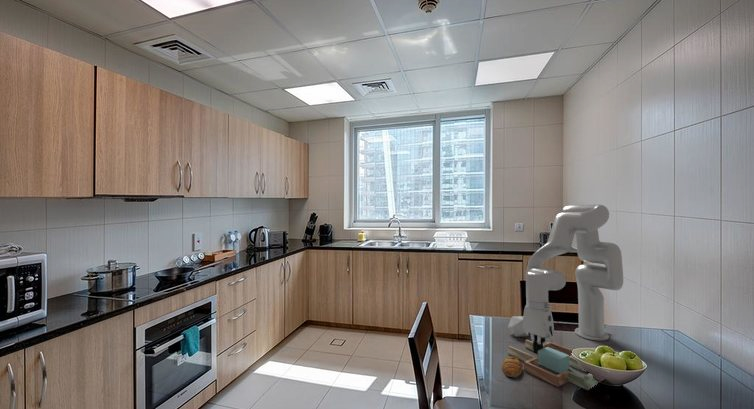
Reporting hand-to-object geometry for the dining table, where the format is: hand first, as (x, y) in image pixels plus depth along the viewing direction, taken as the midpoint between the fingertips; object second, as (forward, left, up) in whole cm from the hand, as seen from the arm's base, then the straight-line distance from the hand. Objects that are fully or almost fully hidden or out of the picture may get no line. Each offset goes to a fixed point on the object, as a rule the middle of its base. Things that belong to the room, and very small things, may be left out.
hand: (537, 352), depth 119 cm
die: (-14, -18, -3) cm, 23 cm away
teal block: (0, +6, -3) cm, 7 cm away
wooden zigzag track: (0, +5, -3) cm, 6 cm away
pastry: (+16, 0, -3) cm, 16 cm away
